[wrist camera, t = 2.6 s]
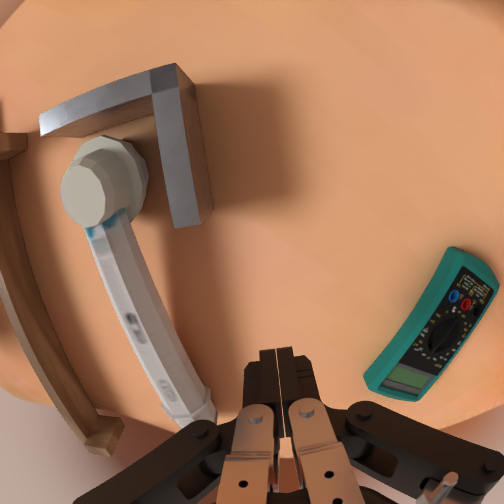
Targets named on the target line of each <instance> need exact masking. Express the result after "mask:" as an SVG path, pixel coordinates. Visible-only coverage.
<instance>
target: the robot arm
mask: <svg viewBox="0 0 504 504" xmlns="http://www.w3.org/2000/svg"><path fill="white" fill-rule="evenodd" d="M276 350H277V359H278V368H277V360H276V352H275V349H267V350H260V351H259V356H260V361H255V362H249V363H248V365H247V366H246V368H245V369H244V386H243V406H242V410H241V411H240V412H239V414H238V416H237V418H235V419H234V420H232V421H230V422H227V423H224V424H221V425H216V424H215V423H214V422H212V421H210V420H204V419H202V420H196V421H193V422H191V423H189V424H188V425H187V426H185V427H184V428H183V429H181V430H180V431H179V432H177V433H176V434H175V435H173V436H172V437H171V438H169V439H168V440H166V441H165V442H164V443H162V444H161V445H159V446H158V447H157V448H155V449H154V450H153V451H151V452H150V453H148V454H147V455H145V456H144V457H142V458H141V459H139V460H138V461H136V462H135V463H133V464H132V465H130V466H129V467H127V468H126V469H124V470H123V471H121V472H120V473H118V474H117V475H115V476H113V477H112V478H110V479H109V480H107V481H105V482H104V483H102V484H100V485H99V486H97V487H96V488H94V489H92V490H90V491H89V492H87V493H85V494H84V495H82V496H80V497H78V498H77V499H76V500H75V501H74V502H73V504H196V503H198V502H199V501H200V500H201V499H202V498H204V497H205V496H206V495H207V494H208V493H210V492H211V491H212V490H213V489H214V488H215V487H216V486H218V485H219V484H220V486H219V491H218V495H217V500H216V502H214V503H212V504H398V503H396V502H394V501H393V500H391V499H389V498H387V497H385V496H384V495H382V494H380V493H379V492H377V491H375V490H373V489H370V488H367V487H364V486H359V485H358V483H357V480H356V478H355V475H354V472H353V469H352V467H351V465H352V466H354V467H355V468H357V469H359V470H360V471H362V472H364V473H366V474H367V475H369V476H371V477H373V478H375V479H377V480H379V481H380V482H382V483H384V484H386V485H388V486H390V487H392V488H394V489H396V490H398V491H400V492H402V493H404V494H406V495H408V496H410V497H412V498H414V499H417V500H416V504H481V502H482V500H483V498H484V496H485V495H486V494H487V493H488V492H489V491H490V490H491V489H492V488H493V487H494V486H495V484H496V483H497V482H498V481H499V480H500V479H501V477H502V476H503V475H504V456H503V455H502V454H501V453H500V452H498V451H495V450H492V449H488V448H486V447H483V446H480V445H477V444H474V443H471V442H468V441H466V440H463V439H460V438H457V437H454V436H452V435H449V434H447V433H444V432H442V431H439V430H437V429H434V428H432V427H429V426H427V425H424V424H422V423H420V422H417V421H415V420H413V419H410V418H408V417H406V416H403V415H401V414H399V413H396V412H394V411H392V410H390V409H387V408H385V407H383V406H381V405H379V404H377V403H374V402H371V401H360V402H356V403H354V404H352V405H351V406H350V407H349V408H348V410H340V409H333V408H330V407H328V406H326V405H324V404H323V403H322V401H321V399H320V396H319V392H318V388H317V384H316V380H315V376H314V372H313V368H312V364H311V361H310V360H309V359H308V358H307V357H306V356H305V355H302V356H295V357H294V355H293V350H292V346H291V347H283V348H276ZM278 369H279V376H278ZM279 379H280V385H279ZM280 388H281V395H280ZM281 398H282V406H281ZM282 407H283V416H284V424H285V432H286V437H291V444H292V453H293V457H294V462H295V466H296V471H297V476H298V481H299V485H300V490H297V491H294V492H291V493H279V492H278V479H279V450H280V438H284V427H283V416H282Z"/></svg>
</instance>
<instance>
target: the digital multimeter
mask: <svg viewBox="0 0 504 504" xmlns="http://www.w3.org/2000/svg"><path fill="white" fill-rule="evenodd" d="M476 275H477V276H476ZM498 289H499V282H498V280H497V278H496V277H495V275H494V273H493V272H492V270H491V269H490V267H489V266H488V265H487V264H486V263H484V262H483V261H482V260H480V259H478V258H477V257H475V256H473V255H471V254H469V253H467V252H465V251H463V250H460V249H457V248H454V247H449V248H448V249H447V250H446V252H445V254H444V256H443V258H442V260H441V262H440V264H439V266H438V268H437V270H436V272H435V274H434V276H433V278H432V280H431V281H430V283H429V285H428V286H427V288H426V290H425V291H424V293H423V295H422V296H421V298H420V300H419V301H418V303H417V305H416V306H415V308H414V309H413V311H412V312H411V314H410V315H409V317H408V318H407V320H406V321H405V323H404V324H403V325H402V327H401V328H400V330H399V331H398V332H397V334H396V335H395V337H394V338H393V339H392V341H391V342H390V343H389V344H388V346H387V347H386V348H385V349H384V351H383V352H382V353H381V354H380V355H379V357H378V358H377V359H376V360H375V361H374V363H373V364H372V365H371V366H370V367H369V369H368V370H367V371H366V372H365V373H364V375H363V377H364V380H365V382H366V384H367V387H368V389H369V390H371V391H373V392H376V393H378V394H381V395H383V396H386V397H389V398H393V399H398V400H404V401H412V402H416V401H418V400H420V399H421V398H422V397H423V396H424V395H425V393H426V392H427V391H428V390H429V389H430V387H431V386H432V385H433V384H434V383H435V381H436V380H437V379H438V378H439V376H440V375H441V374H442V373H443V371H444V370H445V369H446V367H447V366H448V365H449V363H450V362H451V361H452V359H453V358H454V357H455V355H456V354H457V353H458V351H459V350H460V349H461V347H462V346H463V344H464V343H465V342H466V340H467V339H468V337H469V336H470V334H471V333H472V332H473V330H474V329H475V327H476V326H477V324H478V323H479V321H480V320H481V318H482V316H483V315H484V313H485V312H486V310H487V309H488V307H489V305H490V304H491V302H492V300H493V299H494V297H495V295H496V294H497V291H498ZM453 316H454V317H453ZM423 327H424V328H423Z"/></svg>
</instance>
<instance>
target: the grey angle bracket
mask: <svg viewBox="0 0 504 504" xmlns="http://www.w3.org/2000/svg"><path fill="white" fill-rule="evenodd" d="M152 114H154V115H155V123H156V130H157V136H158V143H159V149H160V156H161V162H162V168H163V173H164V179H165V185H166V190H167V196H168V201H169V206H170V211H171V216H172V221H173V226H174V229H177V228H183V227H189V226H195V225H201V224H202V223H203V222H204V220H205V219H206V218H207V217H208V216H209V215H210V214H211V213H212V211H213V210H214V205H213V199H212V194H211V188H210V182H209V176H208V170H207V164H206V158H205V152H204V145H203V139H202V133H201V126H200V120H199V113H198V106H197V100H196V93H195V86H194V83H193V82H192V81H191V80H190V79H189V77H188V76H187V75H186V74H185V73H184V72H183V71H182V69H181V68H180V67H179V66H178V65H177V64H176V63H172V64H168V65H164V66H161V67H157V68H154V69H150V70H147V71H144V72H141V73H138V74H134V75H131V76H128V77H125V78H123V79H120V80H117V81H114V82H111V83H109V84H106V85H104V86H101V87H98V88H96V89H93V90H91V91H89V92H86V93H84V94H82V95H79V96H77V97H75V98H72V99H70V100H68V101H66V102H64V103H62V104H60V105H58V106H55V107H53V108H51V109H49V110H47V111H46V112H44V113H42V114H40V115H39V121H40V133H41V136H49V137H73V138H82V137H84V136H87V135H90V134H92V133H95V132H98V131H101V130H104V129H106V128H109V127H112V126H116V125H119V124H122V123H125V122H128V121H131V120H135V119H138V118H142V117H145V116H149V115H152Z"/></svg>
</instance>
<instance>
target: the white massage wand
mask: <svg viewBox="0 0 504 504" xmlns="http://www.w3.org/2000/svg"><path fill="white" fill-rule="evenodd" d="M148 178H150V176H149V173H148V169H147V166H146V162H145V158H142V157H141V156H140V155H139V153H138V152H137V151H136V150H135V149H134V148H133V146H132V144H131V143H128V142H125V141H122V140H119V139H116V138H113V137H109V136H106V135H102V136H99V137H96V138H94V139H92V140H89V141H87V142H85V143H83V144H82V146H81V147H80V149H79V151H78V152H77V154H76V156H75V157H74V159H73V161H72V163H71V164H70V166H69V167H68V169H67V171H66V173H65V175H64V177H63V179H62V181H61V199H62V202H63V205H64V208H65V211H66V212H67V214H68V215H69V216H70V217H71V218H72V220H73V221H74V222H75V223H77V224H79V225H81V226H83V227H84V230H85V233H86V236H87V239H88V242H89V245H90V248H91V251H92V254H93V257H94V259H95V262H96V265H97V267H98V270H99V273H100V275H101V278H102V280H103V283H104V285H105V288H106V290H107V293H108V295H109V297H110V300H111V302H112V305H113V307H114V309H115V311H116V314H117V316H118V318H119V320H120V322H121V325H122V327H123V329H124V331H125V333H126V335H127V337H128V339H129V341H130V343H131V346H132V348H133V350H134V351H135V353H136V355H137V357H138V359H139V361H140V363H141V365H142V367H143V369H144V371H145V372H146V374H147V376H148V378H149V380H150V382H151V383H152V385H153V387H154V389H155V390H156V392H157V394H158V396H159V397H160V399H161V401H162V404H161V408H162V409H163V410H164V411H165V412H166V413H167V414H168V415H169V416H170V417H171V418H172V419H173V420H175V421H176V422H177V424H178V425H179V426H180V428H182V429H183V428H184V427H185V426H187V425H188V424H189V423H191V422H193V421H196V420H202V419H204V420H210V421H212V422H214V423H215V424H216V425H217V416H218V412H217V410H216V408H215V407H214V405H213V403H212V401H211V399H210V393H211V390H210V389H209V388H208V387H207V386H206V385H204V384H203V383H202V382H201V380H200V378H199V377H198V375H197V373H196V371H195V369H194V367H193V365H192V363H191V361H190V359H189V357H188V355H187V353H186V351H185V349H184V347H183V345H182V343H181V341H180V339H179V337H178V335H177V333H176V331H175V329H174V327H173V325H172V322H171V320H170V318H169V316H168V314H167V312H166V309H165V307H164V305H163V303H162V301H161V298H160V296H159V294H158V291H157V289H156V287H155V284H154V282H153V280H152V277H151V275H150V273H149V270H148V268H147V265H146V263H145V260H144V258H143V255H142V253H141V250H140V248H139V245H138V242H137V240H136V237H135V235H134V232H133V229H132V226H131V224H130V223H131V222H132V221H133V220H134V218H135V217H136V215H137V214H138V213H139V211H140V210H141V209H142V207H143V201H144V199H145V198H146V192H147V184H148Z"/></svg>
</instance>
